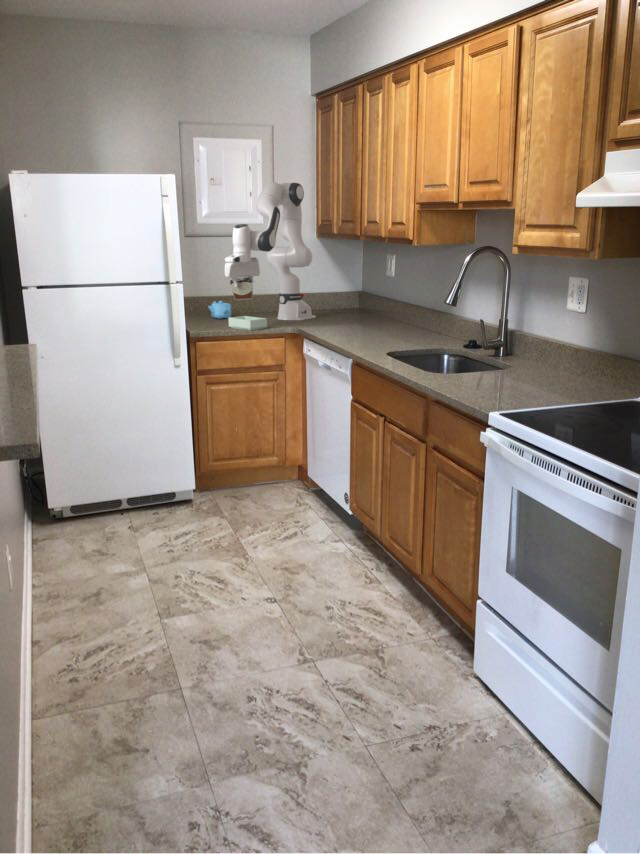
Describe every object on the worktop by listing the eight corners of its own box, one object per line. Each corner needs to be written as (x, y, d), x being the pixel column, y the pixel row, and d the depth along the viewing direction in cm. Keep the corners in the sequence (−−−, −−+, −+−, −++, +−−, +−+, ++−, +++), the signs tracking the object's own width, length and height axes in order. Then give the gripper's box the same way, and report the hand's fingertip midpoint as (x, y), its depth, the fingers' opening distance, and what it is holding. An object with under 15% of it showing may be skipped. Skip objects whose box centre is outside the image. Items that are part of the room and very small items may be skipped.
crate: (245, 325, 398) (245, 315, 397) (267, 328, 387) (266, 318, 386) (228, 327, 391) (228, 317, 390) (250, 330, 379) (250, 320, 378)
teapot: (238, 320, 421) (238, 301, 418) (215, 321, 414) (214, 303, 411) (224, 316, 436) (223, 298, 433) (201, 318, 428) (200, 300, 426)
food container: (258, 295, 389) (255, 276, 386) (255, 298, 384) (252, 278, 380) (235, 297, 392) (232, 277, 388) (231, 300, 386) (228, 280, 383)
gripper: (253, 256, 390) (254, 284, 394) (222, 258, 376) (223, 287, 380) (262, 257, 386) (262, 285, 389) (230, 259, 372) (231, 287, 376)
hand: (243, 286), depth 385 cm, fingers closed on food container, 7 cm apart
